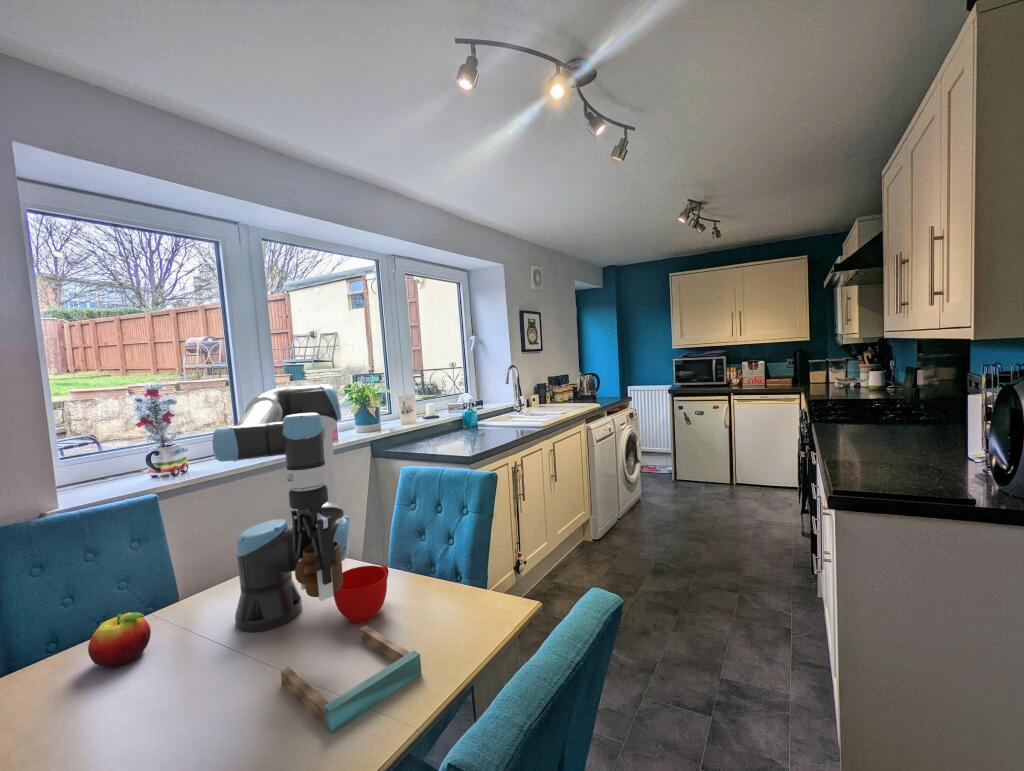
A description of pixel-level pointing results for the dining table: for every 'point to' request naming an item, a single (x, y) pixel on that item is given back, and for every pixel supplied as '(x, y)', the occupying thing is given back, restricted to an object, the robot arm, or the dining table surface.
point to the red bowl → (362, 593)
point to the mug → (308, 572)
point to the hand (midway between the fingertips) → (317, 592)
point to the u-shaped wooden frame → (362, 694)
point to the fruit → (119, 640)
